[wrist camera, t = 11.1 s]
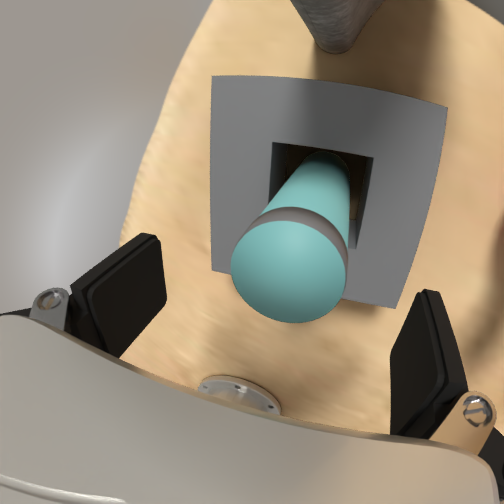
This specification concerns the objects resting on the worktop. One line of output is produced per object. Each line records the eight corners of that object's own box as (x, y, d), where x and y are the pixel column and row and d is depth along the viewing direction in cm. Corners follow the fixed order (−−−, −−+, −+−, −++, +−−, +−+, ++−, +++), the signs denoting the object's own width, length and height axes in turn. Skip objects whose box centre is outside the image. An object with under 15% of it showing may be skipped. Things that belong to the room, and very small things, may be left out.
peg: (346, 206, 22) (332, 333, 11) (295, 197, 23) (229, 309, 12) (354, 155, 20) (358, 235, 9) (300, 147, 21) (229, 211, 10)
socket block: (390, 272, 23) (395, 309, 19) (234, 241, 27) (211, 270, 23) (426, 106, 16) (447, 107, 12) (240, 79, 20) (212, 75, 16)
